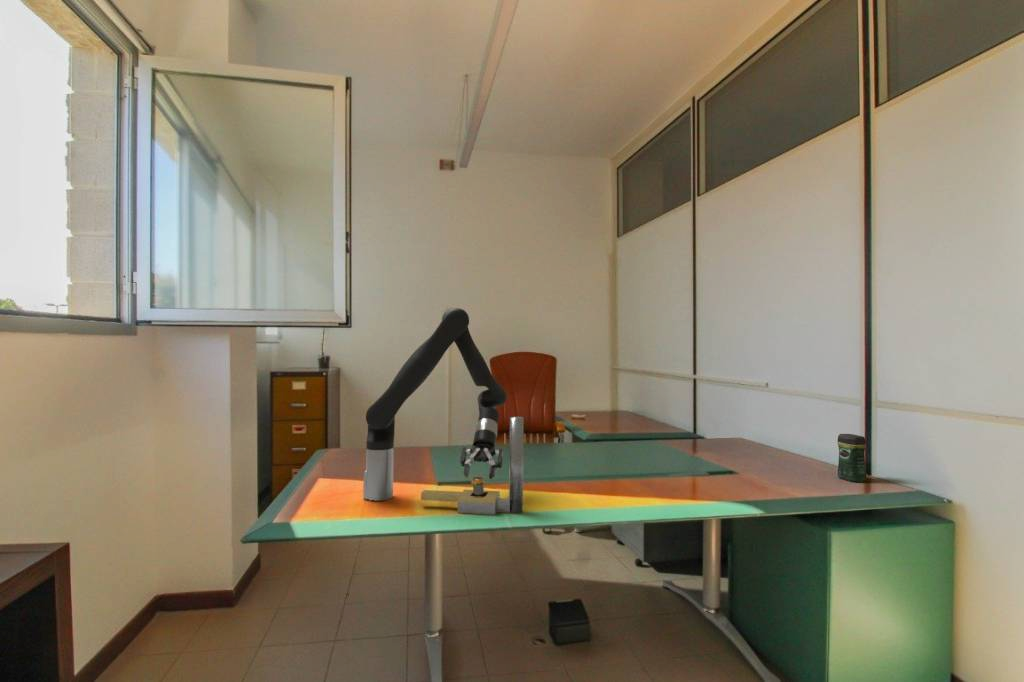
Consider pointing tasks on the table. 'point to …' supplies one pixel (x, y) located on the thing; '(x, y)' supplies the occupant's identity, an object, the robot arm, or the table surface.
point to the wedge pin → (478, 486)
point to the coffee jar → (851, 457)
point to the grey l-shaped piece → (492, 498)
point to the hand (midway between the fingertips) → (478, 477)
